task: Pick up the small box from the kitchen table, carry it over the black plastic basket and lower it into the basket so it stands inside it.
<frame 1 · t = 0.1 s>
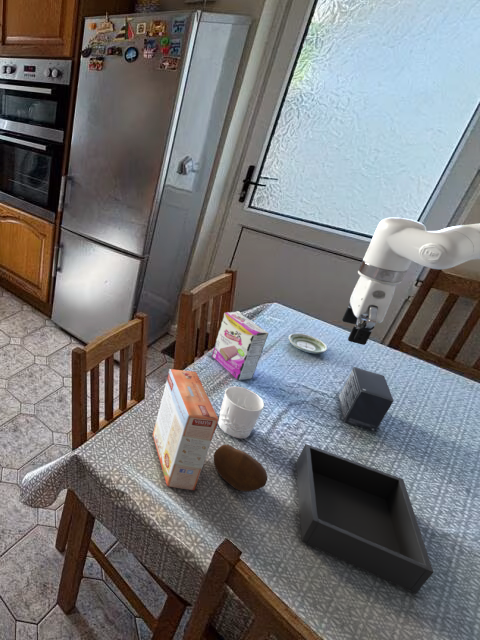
hand: (352, 332, 102), 21 cm above the table, tool pointing down, fingers open, 9 cm apart
small box: (356, 414, 105), on the table
saucer: (305, 348, 129), on the table
cracker box: (172, 462, 93), on the table
candy bar box: (230, 368, 121), on the table
white cup: (233, 429, 101), on the table
potato: (233, 481, 89), on the table
basket: (346, 521, 81), on the table
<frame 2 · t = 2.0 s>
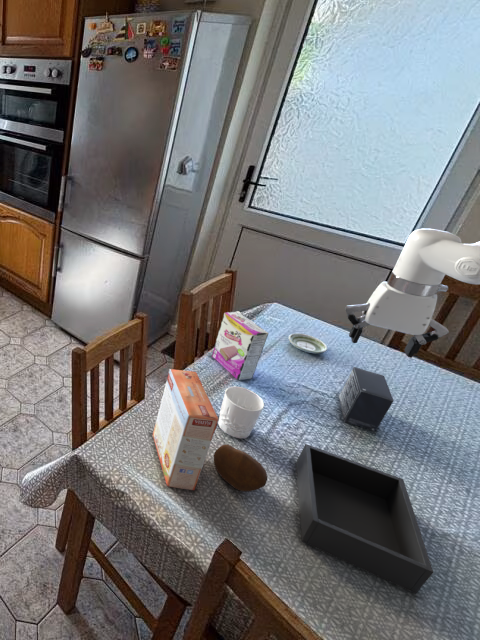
hand: (379, 347, 98), 20 cm above the table, tool pointing down, fingers open, 9 cm apart
nothing on the table moved.
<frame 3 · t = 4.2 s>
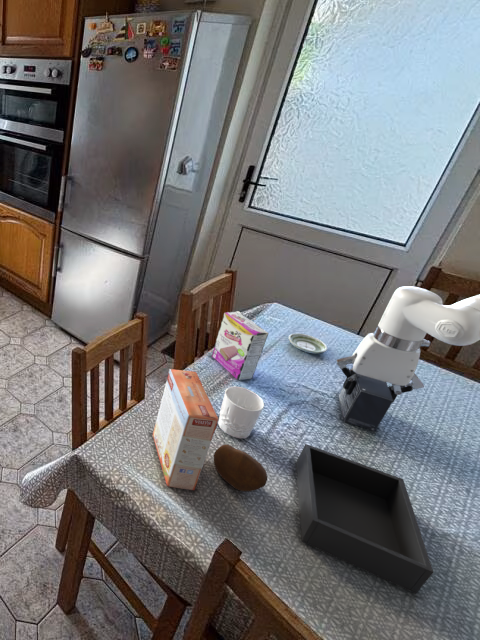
hand: (365, 396, 102), 6 cm above the table, tool pointing down, fingers closed on small box, 6 cm apart
small box: (355, 414, 105), on the table, touching gripper
everything else where it was.
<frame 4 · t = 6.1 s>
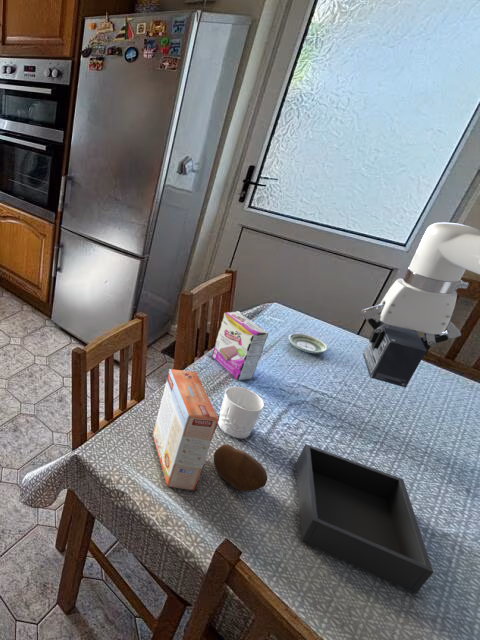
hand: (394, 349, 94), 22 cm above the table, tool pointing down, fingers closed on small box, 6 cm apart
small box: (383, 371, 96), point 16 cm above the table, touching gripper
everything else where it was.
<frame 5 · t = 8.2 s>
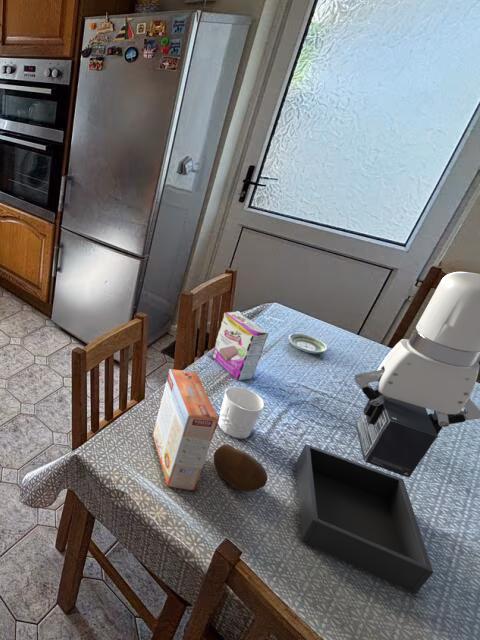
hand: (396, 426, 74), 23 cm above the table, tool pointing down, fingers closed on small box, 6 cm apart
small box: (380, 450, 76), point 16 cm above the table, touching gripper
everything else where it was.
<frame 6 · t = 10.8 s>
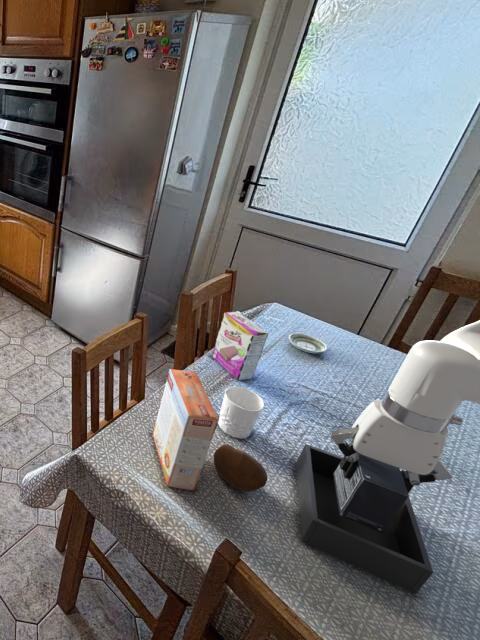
hand: (370, 481, 76), 12 cm above the table, tool pointing down, fingers closed on small box, 6 cm apart
small box: (356, 503, 78), point 5 cm above the table, touching gripper
everything else where it was.
when the fingers open (7 cm above the table, at t = 12.5 s): small box stays where it is, resting on basket.
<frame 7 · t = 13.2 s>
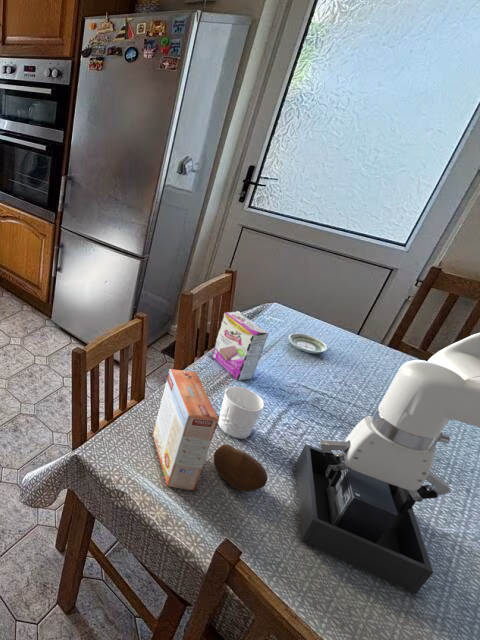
hand: (363, 493, 77), 8 cm above the table, tool pointing down, fingers open, 9 cm apart
small box: (347, 518, 81), point 1 cm above the table, touching basket
everything else where it was.
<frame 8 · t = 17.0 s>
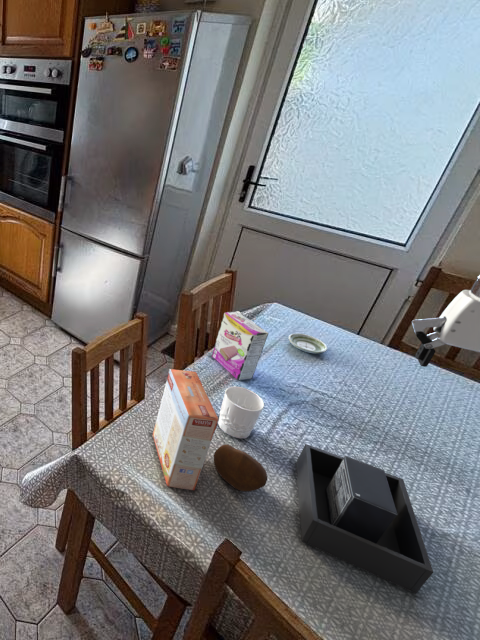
hand: (456, 371, 78), 28 cm above the table, tool pointing down, fingers open, 9 cm apart
nothing on the table moved.
at the end: small box inside the target area in the basket (0.0 cm from its centre), point 0.6 cm above the basket's base; small box tilted 0°; the gripper is holding nothing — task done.
